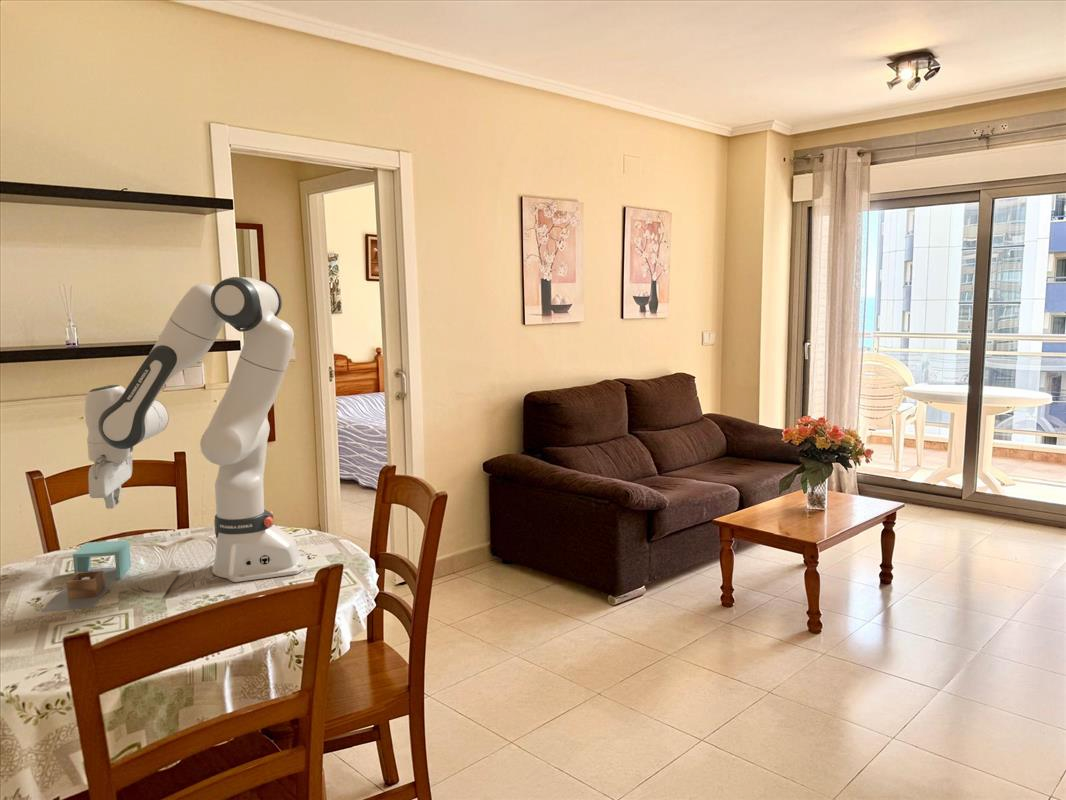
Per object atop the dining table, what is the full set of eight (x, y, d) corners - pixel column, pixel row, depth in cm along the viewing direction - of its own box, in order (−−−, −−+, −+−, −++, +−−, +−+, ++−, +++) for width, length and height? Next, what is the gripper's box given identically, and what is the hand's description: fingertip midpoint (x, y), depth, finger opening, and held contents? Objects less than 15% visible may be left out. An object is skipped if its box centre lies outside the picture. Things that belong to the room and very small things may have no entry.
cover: (131, 565, 183) (129, 540, 182) (120, 578, 175) (118, 551, 174) (87, 568, 181) (85, 542, 180) (75, 581, 173) (72, 554, 172)
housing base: (128, 570, 184) (127, 552, 183) (93, 612, 160) (91, 592, 160) (83, 573, 182) (82, 555, 181) (41, 615, 158) (39, 595, 158)
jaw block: (104, 587, 171) (103, 570, 170) (96, 597, 166) (94, 580, 165) (77, 589, 170) (76, 572, 169) (68, 599, 164) (66, 581, 164)
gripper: (108, 460, 174) (112, 517, 176) (135, 442, 194) (139, 494, 196) (78, 461, 173) (83, 519, 175) (109, 443, 192) (112, 495, 194)
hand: (113, 505), depth 185 cm, fingers closed
